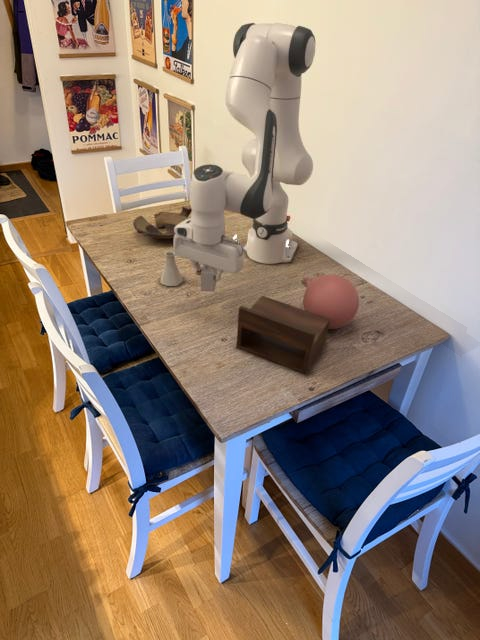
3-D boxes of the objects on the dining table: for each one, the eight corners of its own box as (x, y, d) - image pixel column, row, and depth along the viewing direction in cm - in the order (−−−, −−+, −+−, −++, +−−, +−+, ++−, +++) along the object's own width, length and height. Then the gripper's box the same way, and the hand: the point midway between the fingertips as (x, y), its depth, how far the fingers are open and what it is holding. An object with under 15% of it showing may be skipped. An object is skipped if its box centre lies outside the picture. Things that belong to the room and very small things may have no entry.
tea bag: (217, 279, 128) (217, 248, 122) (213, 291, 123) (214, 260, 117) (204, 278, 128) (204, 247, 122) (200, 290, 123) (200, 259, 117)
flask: (178, 288, 138) (177, 260, 132) (156, 285, 139) (155, 257, 133) (185, 277, 144) (184, 250, 138) (164, 273, 145) (163, 246, 139)
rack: (259, 321, 127) (263, 283, 119) (324, 345, 120) (333, 306, 112) (236, 347, 117) (238, 308, 109) (305, 375, 110) (313, 334, 102)
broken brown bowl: (122, 229, 170) (120, 211, 165) (189, 215, 185) (189, 197, 180) (148, 253, 156) (147, 233, 151) (218, 235, 170) (219, 217, 166)
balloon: (320, 296, 140) (329, 253, 130) (363, 331, 126) (376, 285, 117) (280, 307, 133) (287, 263, 124) (321, 346, 119) (331, 299, 110)
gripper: (249, 236, 112) (246, 282, 120) (182, 217, 119) (184, 262, 127) (237, 246, 107) (235, 293, 116) (168, 226, 114) (171, 271, 123)
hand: (207, 276), depth 121 cm, fingers closed on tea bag, 4 cm apart
